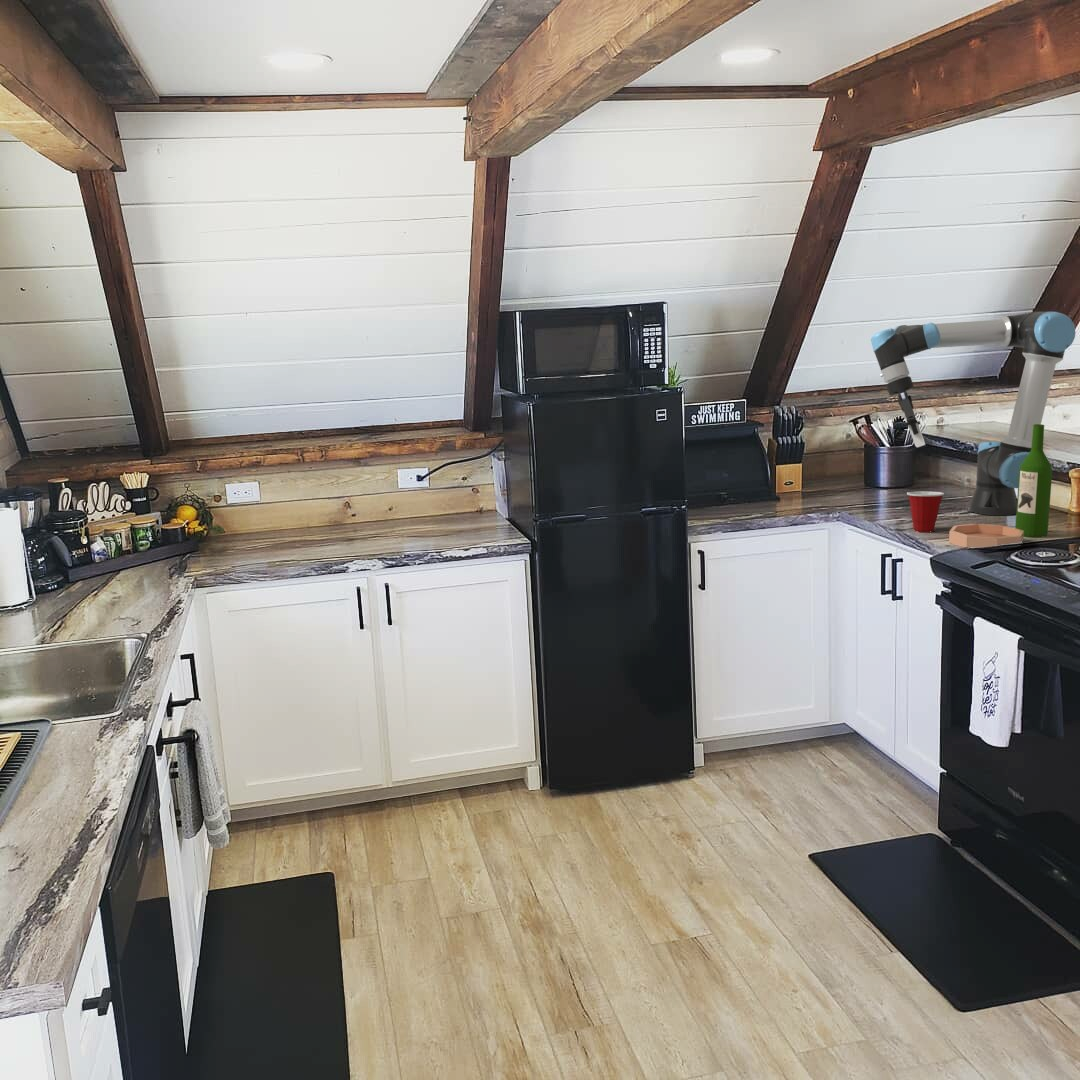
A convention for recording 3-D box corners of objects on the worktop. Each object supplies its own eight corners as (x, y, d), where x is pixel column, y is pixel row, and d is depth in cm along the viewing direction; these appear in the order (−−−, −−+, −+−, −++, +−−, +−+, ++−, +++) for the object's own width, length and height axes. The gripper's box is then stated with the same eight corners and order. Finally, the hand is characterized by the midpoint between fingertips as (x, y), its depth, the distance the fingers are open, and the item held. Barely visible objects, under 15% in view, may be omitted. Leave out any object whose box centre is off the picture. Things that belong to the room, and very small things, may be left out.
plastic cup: (937, 526, 346) (939, 488, 343) (946, 534, 335) (948, 494, 333) (901, 527, 347) (903, 488, 344) (909, 534, 336) (910, 495, 334)
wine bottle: (1009, 534, 332) (1016, 425, 325) (1022, 530, 338) (1029, 422, 331) (1040, 539, 326) (1048, 427, 319) (1052, 533, 332) (1060, 424, 325)
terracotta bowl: (991, 533, 335) (992, 521, 334) (1036, 546, 317) (1037, 534, 316) (936, 538, 329) (937, 527, 329) (979, 552, 312) (980, 540, 311)
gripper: (887, 387, 354) (909, 450, 353) (883, 380, 331) (906, 448, 330) (911, 378, 352) (933, 442, 351) (908, 371, 328) (932, 439, 327)
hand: (920, 445), depth 340 cm, fingers open, 13 cm apart
